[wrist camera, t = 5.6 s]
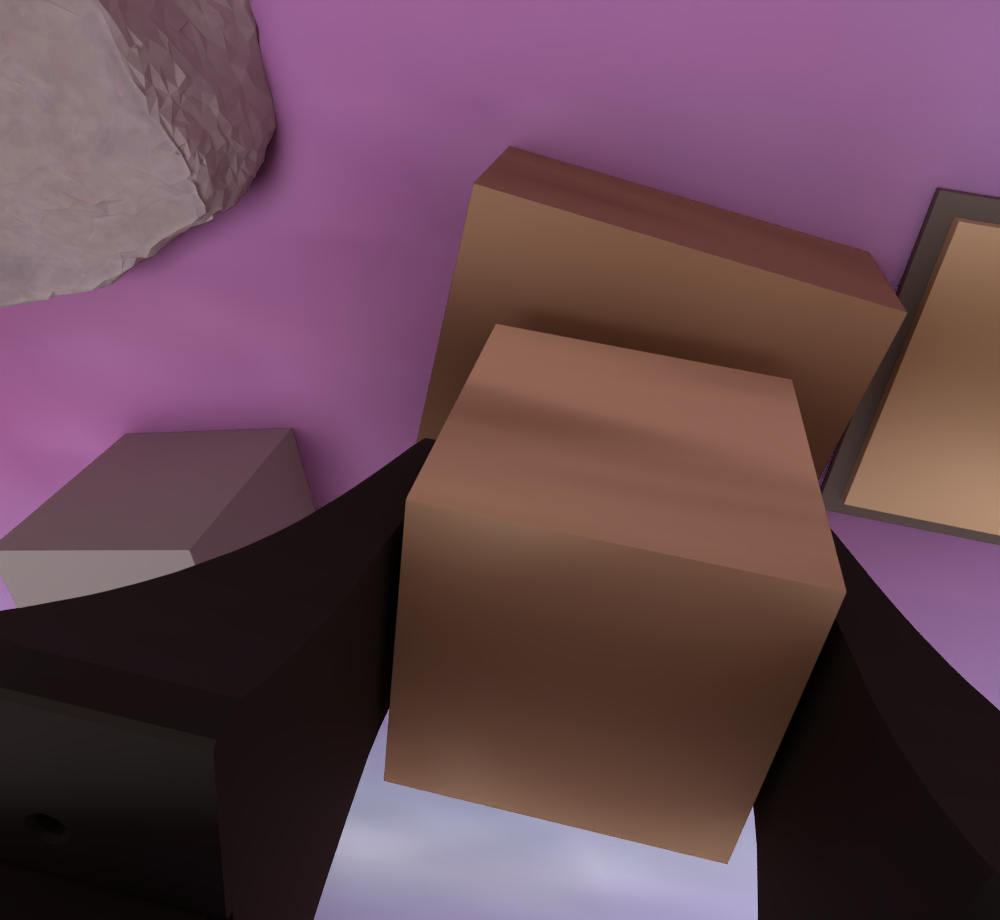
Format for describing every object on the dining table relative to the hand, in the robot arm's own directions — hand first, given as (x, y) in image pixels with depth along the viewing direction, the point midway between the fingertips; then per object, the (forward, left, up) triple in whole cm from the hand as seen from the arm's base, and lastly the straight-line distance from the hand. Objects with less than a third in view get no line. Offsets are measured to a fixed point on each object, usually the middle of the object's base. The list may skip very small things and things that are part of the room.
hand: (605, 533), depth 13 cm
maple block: (0, 0, -2) cm, 2 cm away
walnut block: (0, 0, -6) cm, 6 cm away
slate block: (-6, +9, -6) cm, 13 cm away
